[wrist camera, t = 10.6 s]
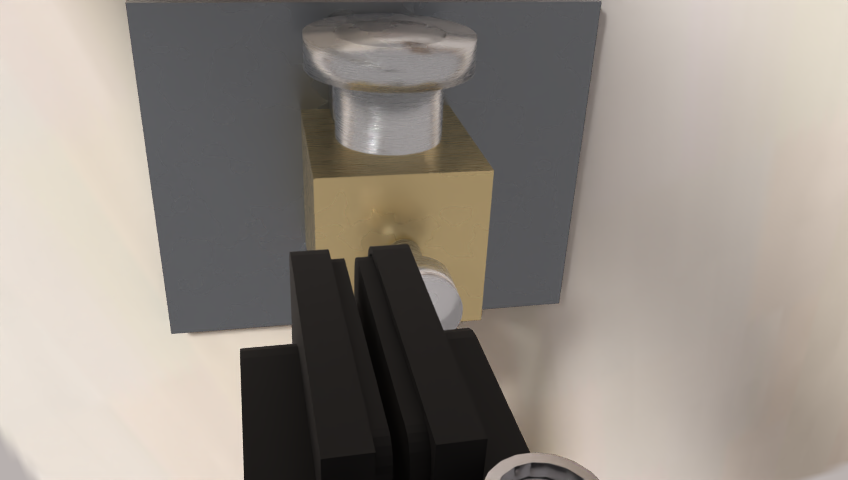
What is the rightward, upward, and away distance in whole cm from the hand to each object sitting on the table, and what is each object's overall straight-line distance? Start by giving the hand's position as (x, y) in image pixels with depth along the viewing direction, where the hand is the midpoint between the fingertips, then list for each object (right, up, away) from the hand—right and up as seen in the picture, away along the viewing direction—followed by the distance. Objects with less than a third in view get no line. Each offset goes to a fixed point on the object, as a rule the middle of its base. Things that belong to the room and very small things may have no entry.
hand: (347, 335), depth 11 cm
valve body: (-2, +5, +34) cm, 34 cm away
